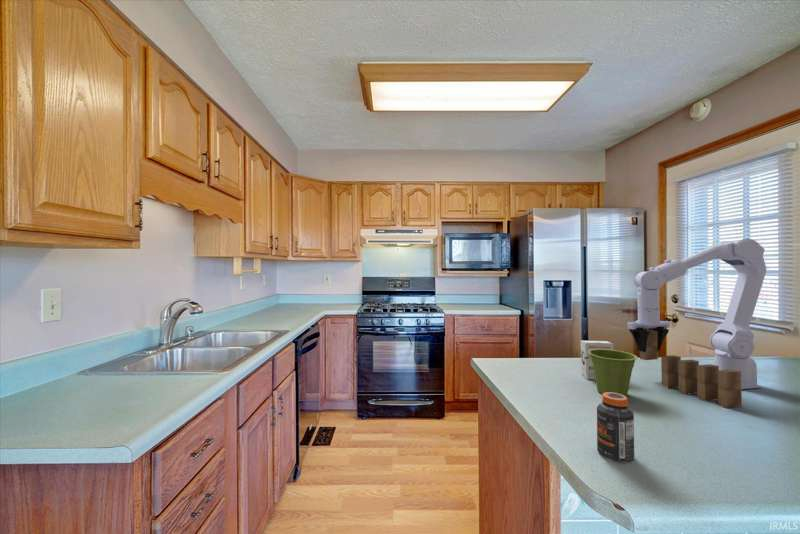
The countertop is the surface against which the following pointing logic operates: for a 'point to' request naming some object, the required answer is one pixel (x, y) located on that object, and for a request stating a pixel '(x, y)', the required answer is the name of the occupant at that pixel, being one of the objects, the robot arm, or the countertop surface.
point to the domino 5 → (729, 388)
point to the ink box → (586, 361)
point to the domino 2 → (670, 371)
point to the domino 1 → (651, 347)
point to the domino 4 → (707, 382)
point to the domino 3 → (687, 376)
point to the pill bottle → (615, 428)
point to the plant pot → (612, 370)
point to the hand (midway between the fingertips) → (649, 350)
